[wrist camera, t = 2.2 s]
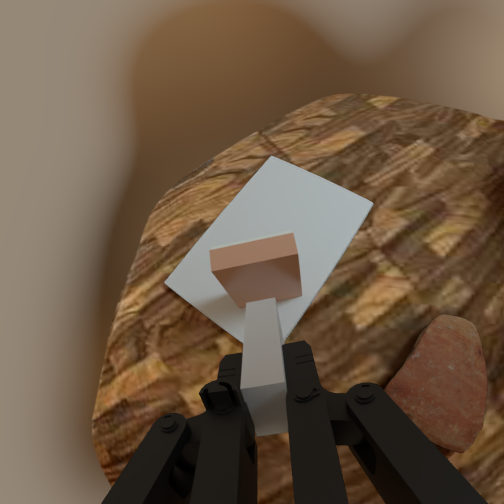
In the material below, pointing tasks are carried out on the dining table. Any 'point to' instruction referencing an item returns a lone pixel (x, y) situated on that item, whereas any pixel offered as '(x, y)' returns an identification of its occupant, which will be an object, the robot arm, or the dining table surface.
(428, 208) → the dining table surface
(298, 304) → the grey mat
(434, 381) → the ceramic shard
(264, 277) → the terracotta tile
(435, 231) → the dining table surface
